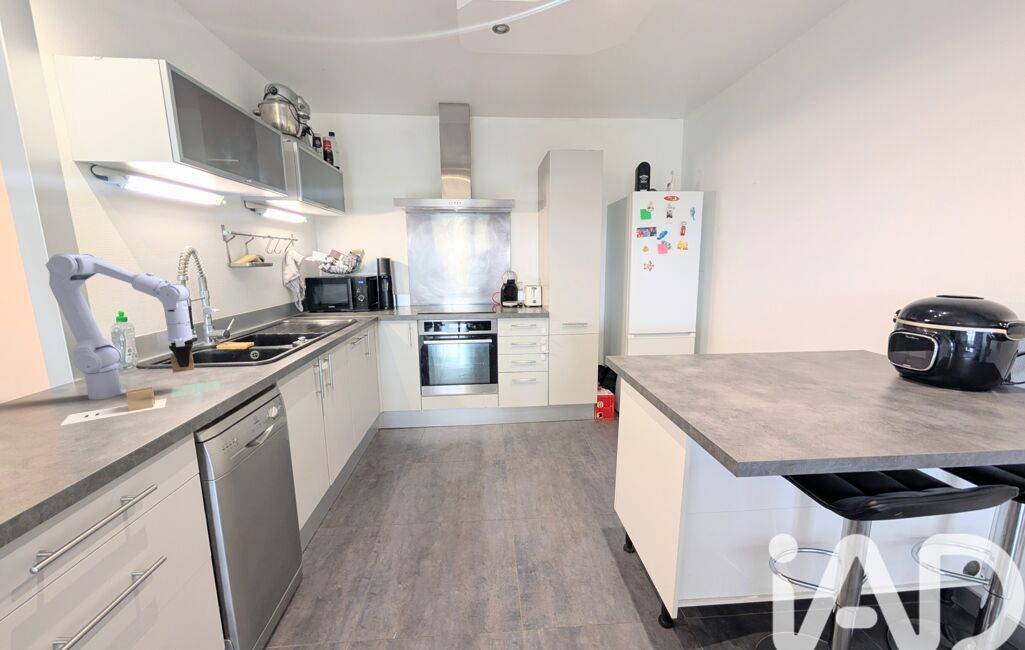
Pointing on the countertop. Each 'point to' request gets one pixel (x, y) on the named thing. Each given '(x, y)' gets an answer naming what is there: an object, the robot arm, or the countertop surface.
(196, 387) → the sage pad
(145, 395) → the oak block
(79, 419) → the board
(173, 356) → the walnut block
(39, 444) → the countertop surface
